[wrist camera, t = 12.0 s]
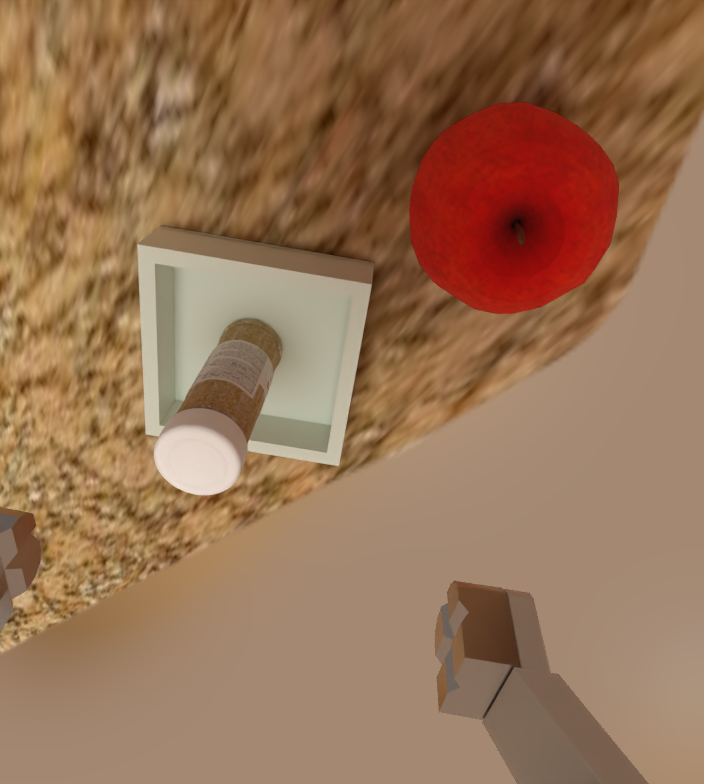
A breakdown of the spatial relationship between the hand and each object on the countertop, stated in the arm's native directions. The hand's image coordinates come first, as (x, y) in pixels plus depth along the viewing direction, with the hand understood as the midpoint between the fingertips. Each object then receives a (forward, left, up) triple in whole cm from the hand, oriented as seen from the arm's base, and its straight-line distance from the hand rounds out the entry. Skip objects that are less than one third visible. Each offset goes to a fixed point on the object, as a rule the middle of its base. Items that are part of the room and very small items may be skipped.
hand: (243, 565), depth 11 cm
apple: (-3, +8, -29) cm, 30 cm away
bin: (+10, -5, -29) cm, 31 cm away
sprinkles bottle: (+11, -5, -28) cm, 31 cm away
